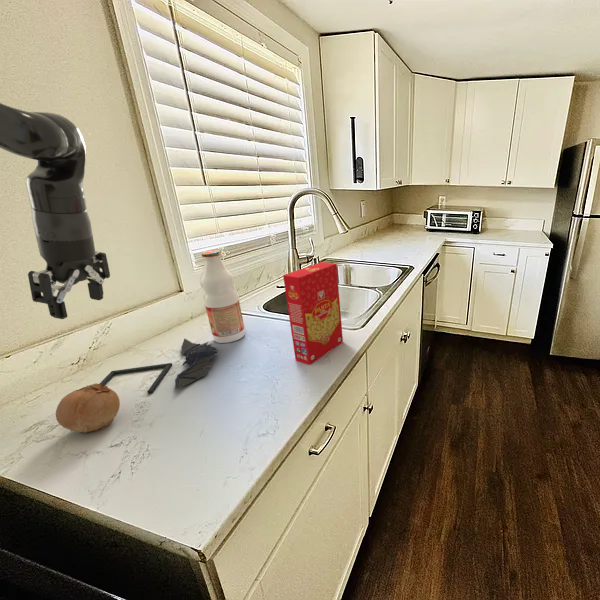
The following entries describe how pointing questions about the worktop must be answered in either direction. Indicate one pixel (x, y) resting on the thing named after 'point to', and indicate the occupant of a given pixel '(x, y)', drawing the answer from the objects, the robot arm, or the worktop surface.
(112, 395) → the onion
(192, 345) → the decorative bat
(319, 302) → the food packaging
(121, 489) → the worktop surface
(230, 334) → the fruit juice
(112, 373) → the frame
